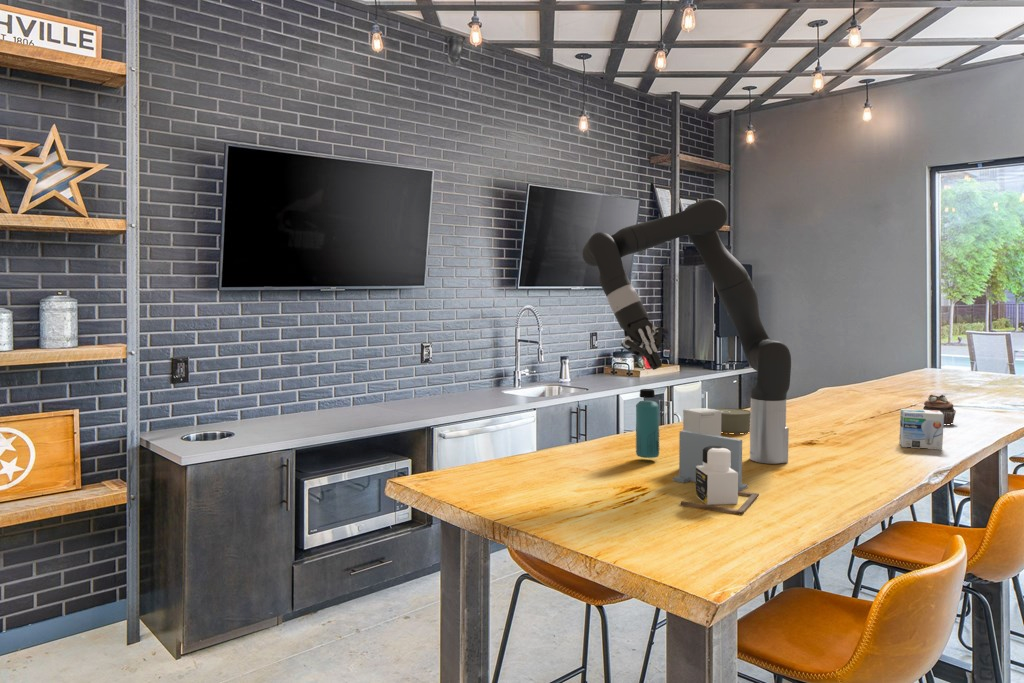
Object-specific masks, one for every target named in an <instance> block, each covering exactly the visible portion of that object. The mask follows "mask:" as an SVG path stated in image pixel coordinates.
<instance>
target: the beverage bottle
mask: <svg viewBox="0 0 1024 683" xmlns="http://www.w3.org/2000/svg"><path fill="white" fill-rule="evenodd" d="M639 397H640V398H643V399H644V398H647V399H648V398H649V399H651V398H655V397H656V395H655V389H653V388H652V389H651V388H641V389H640V390H639ZM659 407H660V405H659V404H658V402H656V401H654V400H640V401H638V402H637V403H636V404H635V452H636V453H635V454H636V456H637V457H640V458H644V459H646V458H647V459H651V458H652V459H653V458H658V457H659V455H660V424H659V423H660V421H659V420H660V419H659V416H660V415H659V414H660V413H659Z"/></svg>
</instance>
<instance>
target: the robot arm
mask: <svg viewBox="0 0 1024 683" xmlns="http://www.w3.org/2000/svg"><path fill="white" fill-rule="evenodd" d="M727 218H728V212H727V208H726V206H725V205H724V203H723V202H722V201H720V200H718V199H715V198H705V199H701V200H698V201H696V202H694V203H691V204H688V206H687V207H686V208H684V210H682V211H679V212H677V213H674V214H670V215H667V216H663V217H659V218H656V219H651V220H647V221H643V222H639V223H635V224H632V225H630V226H626V227H623V228H621V229H619V230H617V231H616V232H615V233H614V234H612V235H610V234H608V233H607V232H603V231H598V232H596V233H593V234H592V235H591V236H590V238H589V239H588V241H587V242H586V243H585V245H584V247H583V249H582V252H581V253H582V260H584V263H586V264H587V265H589V266H591V267H597V268H598V271H599V276H598V277H599V278H598V281H599V284H600V286H601V288H602V290H603V293H604V294H605V296H606V298H607V301H608V304H609V307H610V309H611V311H612V313H613V314H614V316H615V319H616V321H617V323H618V325H619V327H620V329H622V330H623V332H624V333H623V334H624V335H623V336H624V337H625V338H624V339H623V342H621V343H620V344H621V345H620V346H621V347H622V348H624V349H625V350H627V351H629V353H631V354H633V355H635V356H636V357H638V358H641V357H642V358H643V357H644V358H645V359H646V362H647V363H648V365H649V367H650V368H651V369H652V370H653V371H654V370H657V369H659V368H661V367H662V366H663V365H662V360H661V358H660V356H659V353H658V350H659V349H660V348H661V347H662V341H663V340H662V339H663V327H662V326H655V325H654V324H653V322H652V321H650V320H649V314H648V312H647V310H646V308H645V306H644V304H643V302H642V300H641V297H640V296H639V294H638V292H637V290H636V289H635V288H634V286H633V284H632V283H631V281H630V279H629V276H628V274H627V272H626V271H625V268H624V266H623V260H622V258H624V257H626V256H628V255H632V254H636V253H638V252H639V253H640V252H642V251H646V250H648V249H652V248H655V247H657V246H659V245H662V244H665V243H667V242H670V241H672V240H676V239H678V238H682V237H685V236H688V237H689V239H690V241H691V242H692V244H693V246H694V248H695V249H696V251H697V252H698V254H699V256H700V257H701V259H702V262H703V263H704V266H705V268H706V271H707V272H708V274H709V277H710V278H711V280H712V281H711V282H713V285H714V288H715V290H716V292H717V295H718V297H719V298H720V301H721V302H722V304H723V306H724V309H725V311H726V313H727V315H728V316H729V319H730V321H731V322H732V325H733V327H734V329H735V331H736V332H737V336H738V338H739V341H740V344H741V346H742V350H743V353H744V355H745V359H746V362H747V363H748V365H749V366H750V367H751V368H752V370H754V371H756V372H757V378H756V382H755V383H756V384H754V386H752V387H751V389H750V410H749V411H750V433H749V459H750V461H752V462H756V463H759V464H770V465H771V464H773V465H774V464H775V465H776V464H778V465H779V464H784V463H789V437H790V436H789V433H790V432H789V430H790V429H789V427H788V426H787V394H788V391H789V389H790V386H791V375H792V374H791V372H792V356H791V351H790V349H789V348H788V347H789V346H787V345H786V344H785V343H784V342H781V341H778V340H772V339H771V338H770V337H769V335H768V333H767V331H766V330H765V328H764V325H763V323H762V321H761V318H760V313H759V297H758V293H757V290H756V287H755V286H754V283H753V282H752V279H751V277H750V275H749V273H748V271H747V270H746V268H745V266H743V265H742V263H741V262H740V261H739V260H738V259H737V258H736V257H735V256H734V255H732V253H731V252H730V251H729V250H728V249H727V248H726V246H725V245H724V244H723V242H722V240H721V238H720V235H719V233H718V232H719V231H720V229H722V228H723V227H724V226H725V224H726V222H727V220H728V219H727Z"/></svg>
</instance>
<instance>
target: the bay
mask: <svg viewBox="0 0 1024 683" xmlns="http://www.w3.org/2000/svg"><path fill="white" fill-rule="evenodd" d="M743 495H744V497H748V498H747V499H746V500H745V502H744V503H743V504H741V506H740V507H739V508H738V509H736V508H730V507H729V508H728V507H723V506H717V505H706V504H705V503H704V504H703V503H696V502H689V501H685V500H684V501H680V504H679V505H680V506H683V507H689V508H695V509H703V510H707V509H708V511H715V512H721V513H726V514H727V513H728V514H734V515H739V514H740V516H743V515H744V514H745V513H746V512H747V510H749V508H750V507H751V506H752V505H753V504H754V502H756V500H757V499H758V498H759V497H760V494H759V493H756V492H750V491H744V490H741V491H738V496H743ZM758 496H759V497H758ZM757 497H758V498H757ZM751 504H752V505H751ZM744 512H745V513H744Z"/></svg>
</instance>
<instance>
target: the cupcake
mask: <svg viewBox="0 0 1024 683" xmlns="http://www.w3.org/2000/svg"><path fill="white" fill-rule="evenodd" d="M927 399H928V400H925V401H924V403H923V404H924V406H923V409H922V410H937V411H940V412H942V413H943V414H944V424H951V423H953V424H954V419H955V416H956V412H957V410H956V409H955V408H954V404H953V403H952V402H951V401H949V400H948V399H947V397H946V395H943V394H940V395H938V396H937V395H934V394H930V395H929V396H928V398H927Z"/></svg>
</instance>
